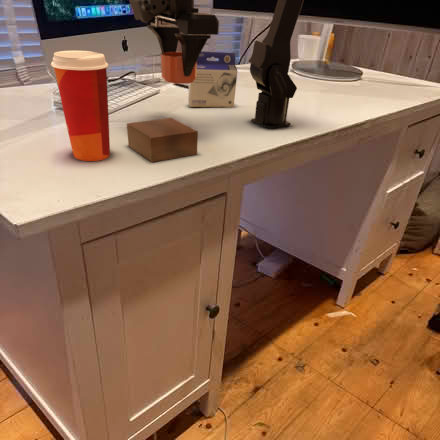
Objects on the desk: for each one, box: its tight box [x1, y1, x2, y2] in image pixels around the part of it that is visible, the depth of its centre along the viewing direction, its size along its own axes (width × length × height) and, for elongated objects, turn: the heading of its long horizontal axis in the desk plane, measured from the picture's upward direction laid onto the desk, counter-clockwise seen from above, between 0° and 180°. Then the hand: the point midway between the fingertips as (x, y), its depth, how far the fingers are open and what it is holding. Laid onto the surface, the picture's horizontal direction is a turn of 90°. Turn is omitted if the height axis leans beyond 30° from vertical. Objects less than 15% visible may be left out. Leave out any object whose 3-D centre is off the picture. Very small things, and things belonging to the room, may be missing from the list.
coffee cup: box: [50, 49, 111, 162], centre depth 66 cm, size 8×8×15 cm
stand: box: [126, 117, 199, 163], centre depth 73 cm, size 9×9×4 cm
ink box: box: [187, 51, 238, 108], centre depth 98 cm, size 12×2×12 cm, turn 107°
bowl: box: [160, 51, 197, 85], centre depth 80 cm, size 7×7×4 cm
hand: (177, 72), depth 80 cm, fingers closed on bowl, 7 cm apart
